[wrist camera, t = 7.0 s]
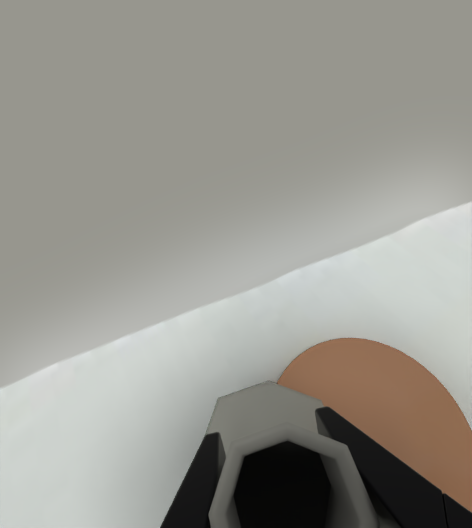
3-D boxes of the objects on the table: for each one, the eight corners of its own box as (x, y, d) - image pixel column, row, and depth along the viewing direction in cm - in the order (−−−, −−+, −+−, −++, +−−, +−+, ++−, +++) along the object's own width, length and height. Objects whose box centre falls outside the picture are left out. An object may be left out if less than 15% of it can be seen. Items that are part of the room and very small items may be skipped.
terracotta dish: (480, 388, 20) (490, 387, 19) (460, 637, 15) (473, 650, 14) (302, 315, 24) (304, 311, 23) (233, 492, 18) (232, 495, 17)
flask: (190, 557, 13) (39, 860, 4) (203, 380, 16) (140, 328, 7) (360, 567, 12) (630, 942, 3) (335, 382, 16) (434, 329, 7)
